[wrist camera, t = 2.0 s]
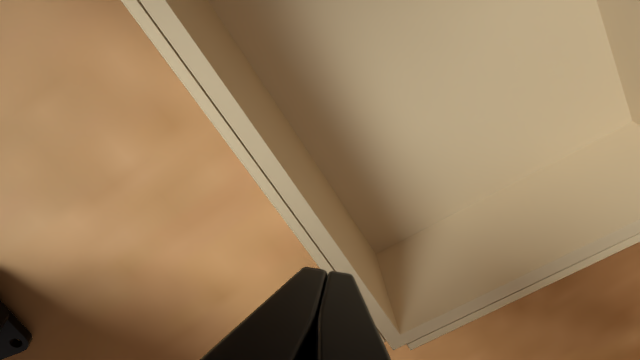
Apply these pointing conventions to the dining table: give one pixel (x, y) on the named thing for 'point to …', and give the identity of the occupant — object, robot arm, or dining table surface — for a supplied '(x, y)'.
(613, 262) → the dining table surface
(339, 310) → the robot arm
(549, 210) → the carton
